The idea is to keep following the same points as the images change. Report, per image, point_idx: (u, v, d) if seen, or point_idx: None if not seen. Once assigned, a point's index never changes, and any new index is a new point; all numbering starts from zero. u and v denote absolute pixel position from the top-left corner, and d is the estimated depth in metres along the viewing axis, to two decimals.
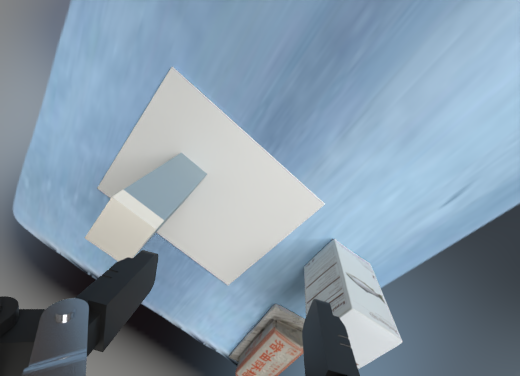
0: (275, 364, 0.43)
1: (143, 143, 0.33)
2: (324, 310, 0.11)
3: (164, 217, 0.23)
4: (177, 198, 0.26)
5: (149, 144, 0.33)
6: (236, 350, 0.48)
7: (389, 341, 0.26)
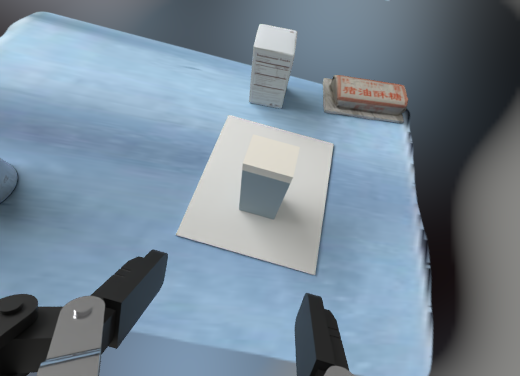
0: (367, 85, 0.53)
1: (246, 241, 0.38)
2: (315, 304, 0.11)
3: None
4: None
5: (245, 235, 0.39)
6: (391, 119, 0.54)
7: (263, 27, 0.44)
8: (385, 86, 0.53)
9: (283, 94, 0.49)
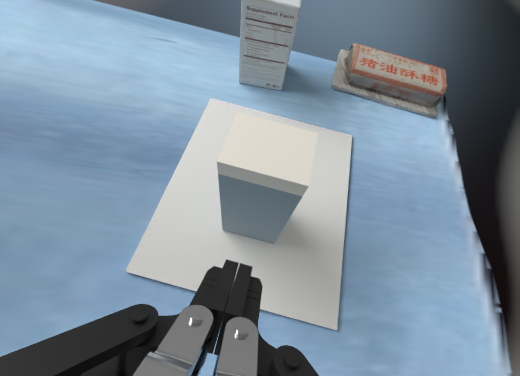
0: (393, 60, 0.40)
1: None
2: (244, 271, 0.12)
3: None
4: None
5: None
6: (419, 109, 0.41)
7: None
8: (418, 66, 0.40)
9: (284, 69, 0.37)
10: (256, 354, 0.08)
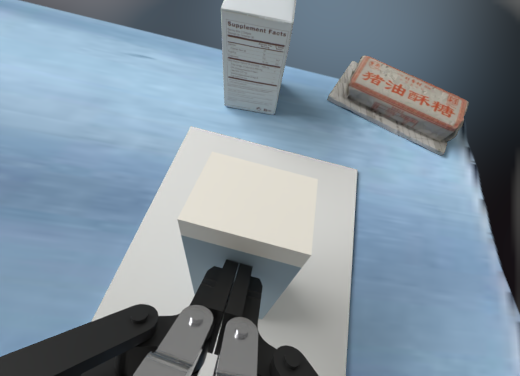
0: (404, 80, 0.34)
1: (207, 373, 0.20)
2: (244, 271, 0.12)
3: None
4: None
5: (205, 360, 0.20)
6: (424, 142, 0.34)
7: None
8: (433, 91, 0.34)
9: (276, 92, 0.31)
10: (256, 354, 0.08)
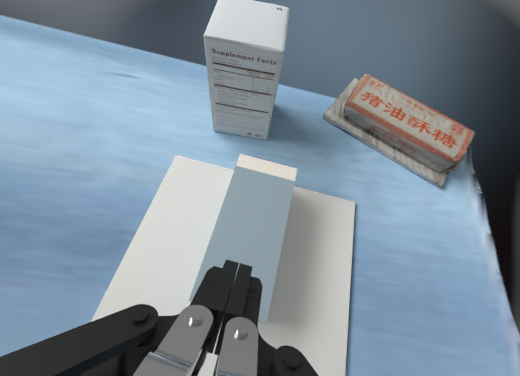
0: (405, 104, 0.32)
1: None
2: (244, 271, 0.12)
3: None
4: None
5: None
6: (422, 172, 0.32)
7: (226, 1, 0.24)
8: (436, 118, 0.32)
9: (268, 119, 0.29)
10: (256, 354, 0.08)
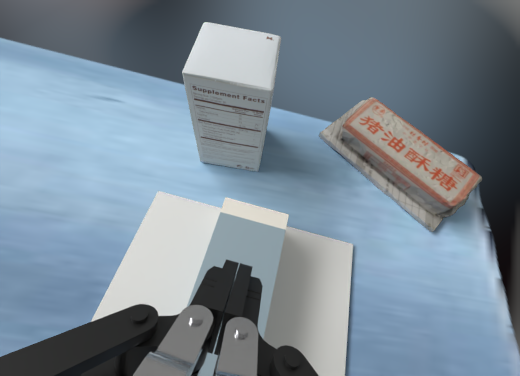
0: (408, 135, 0.30)
1: None
2: (244, 271, 0.12)
3: None
4: None
5: None
6: (414, 211, 0.29)
7: (210, 29, 0.21)
8: (440, 155, 0.29)
9: (258, 153, 0.26)
10: (256, 354, 0.08)
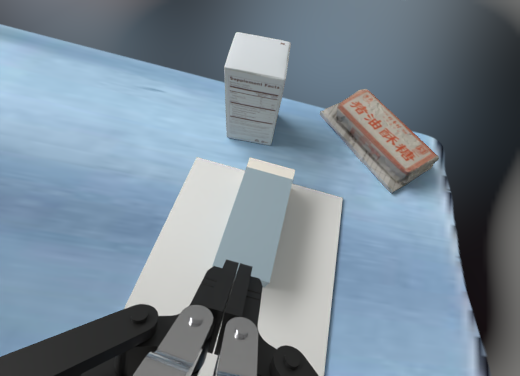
0: (386, 119, 0.38)
1: (208, 375, 0.24)
2: (244, 271, 0.12)
3: None
4: None
5: (206, 365, 0.25)
6: (380, 176, 0.37)
7: (241, 37, 0.30)
8: (408, 136, 0.37)
9: (272, 129, 0.35)
10: (256, 354, 0.08)
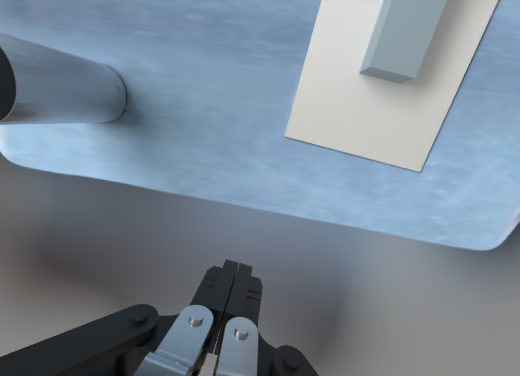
0: None
1: (354, 140, 0.38)
2: (244, 271, 0.12)
3: None
4: (383, 2, 0.32)
5: (352, 135, 0.38)
6: None
7: None
8: None
9: None
10: (256, 354, 0.08)
